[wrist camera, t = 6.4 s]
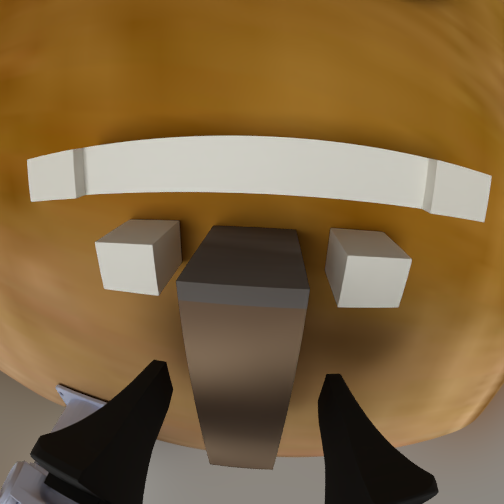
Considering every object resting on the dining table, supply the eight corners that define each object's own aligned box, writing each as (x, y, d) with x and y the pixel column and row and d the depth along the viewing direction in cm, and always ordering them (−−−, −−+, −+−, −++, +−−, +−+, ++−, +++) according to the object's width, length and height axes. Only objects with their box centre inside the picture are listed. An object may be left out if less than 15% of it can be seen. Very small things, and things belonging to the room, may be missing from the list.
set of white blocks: (405, 273, 12) (449, 327, 8) (106, 256, 13) (54, 301, 9) (426, 160, 10) (491, 176, 6) (95, 148, 11) (27, 159, 6)
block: (274, 405, 16) (272, 469, 12) (222, 401, 16) (210, 464, 12) (295, 229, 12) (309, 289, 7) (213, 225, 12) (176, 281, 7)
